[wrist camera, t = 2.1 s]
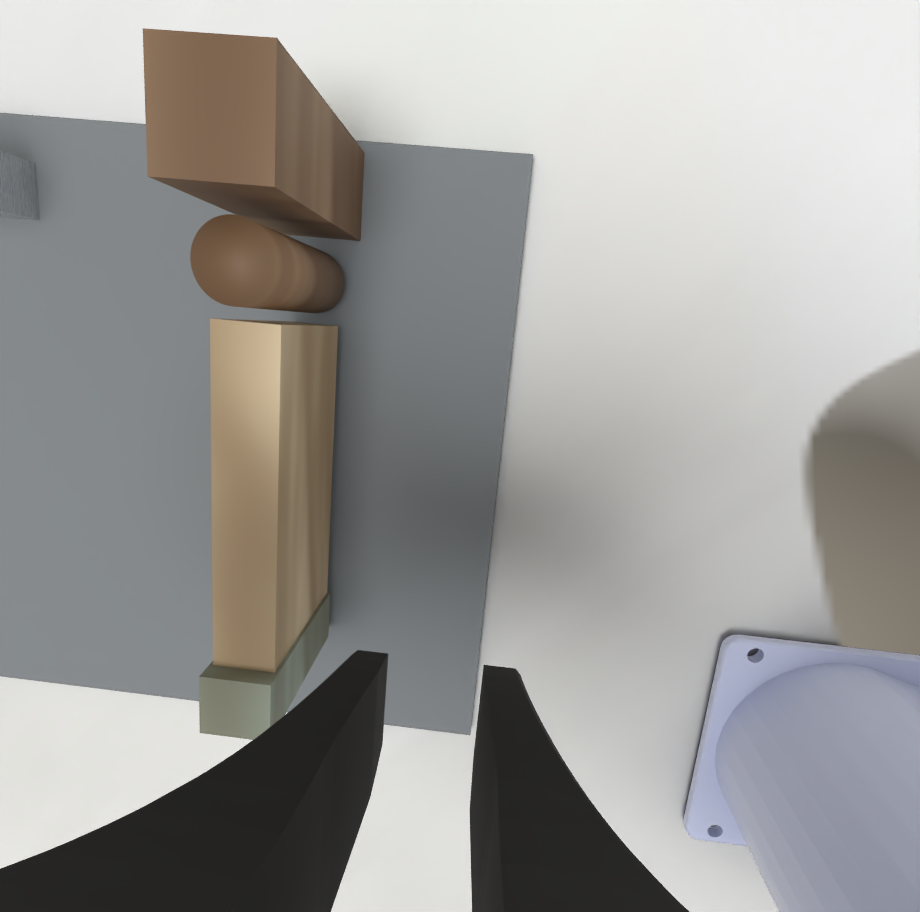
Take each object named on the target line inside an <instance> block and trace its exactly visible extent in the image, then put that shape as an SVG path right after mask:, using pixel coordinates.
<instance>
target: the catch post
mask: <svg viewBox="0 0 920 912" xmlns="http://www.w3.org/2000/svg"><path fill="white" fill-rule="evenodd" d="M0 217H6V218H17V219H29V220H40V212H39V198H38V183H37V169H36V163H33V162H30V161H28V160H25V159H22V158H19V157H16V156H14V155H11V154H8V153H5V152H2V151H0Z"/></svg>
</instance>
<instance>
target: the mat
mask: <svg viewBox="0 0 920 912" xmlns="http://www.w3.org/2000/svg"><path fill="white" fill-rule="evenodd" d="M356 142H357V143H358V145H359V146H360V147H361V149H362V150H363V151H364V153H365V157H364V178H363V199H362V220H361V240H360V241H353V240H342V239H330V238H318V237H307V236H295V235H287V236H289V237H291V238H293V239H296V240H298V241H300V242H303V243H305V244H307V245H309V246H312V247H314V248H316V249H318V250H321V251H323V252H325V253H327V254H329V255H330V256H331V257H333V258H334V259H335V260H336V262H337V263H338V264H339V266H340V268H341V270H342V273H343V277H344V289H343V293H342V296H341V298H340V300H339V301H338V303H337V304H336V305H335V306H334V307H333V308H331V309H330V310H328V311H326V312H322V313H304V312H292V311H280V310H268V309H256V308H244V307H232V306H227V305H224V304H221V303H219V302H217V301H215V300H213V299H212V298H210V297H209V296H208V295H207V294H206V293H205V292H204V291H203V290H202V289H201V287H200V286H199V284H198V283H197V281H196V279H195V277H194V275H193V271H192V268H191V261H190V252H191V246H192V242H193V239H194V237H195V235H196V233H197V232H198V230H199V229H200V228H201V227H202V226H203V225H204V224H205V223H206V222H207V221H209V220H210V219H212V218H214V217H217V216H220V215H226V214H233V213H231V212H229V211H226V210H224V209H222V208H219V207H217V206H215V205H212V204H210V203H208V202H205V201H203V200H201V199H199V198H196V197H194V196H192V195H189V194H187V193H185V192H182V191H180V190H178V189H175V188H173V187H171V186H169V185H166V184H164V183H162V182H159V181H157V180H155V179H152V178H150V177H148V176H147V144H146V124H136V123H123V122H111V121H98V120H85V119H72V118H59V117H46V116H33V115H21V114H8V113H0V151H2V152H5V153H8V154H11V155H14V156H16V157H19V158H22V159H25V160H28V161H30V162H33V163H36V169H37V183H38V198H39V212H40V220H29V219H17V218H6V217H0V676H3V677H11V678H19V679H27V680H35V681H43V682H51V683H59V684H67V685H75V686H83V687H91V688H99V689H107V690H115V691H122V692H130V693H138V694H146V695H154V696H162V697H170V698H178V699H186V700H194V701H199V676H200V675H201V674H202V673H203V671H204V670H205V669H206V668H207V667H208V666H209V665H210V663H211V662H212V661H213V607H212V491H211V375H210V318H213V319H241V320H268V321H289V322H300V323H311V324H321V325H332V326H338V340H337V365H336V389H335V414H334V438H333V463H332V488H331V512H330V537H329V561H328V586H327V592H328V593H330V610H329V634H328V638H327V640H326V642H325V643H324V645H323V647H322V649H321V651H320V652H319V654H318V656H317V658H316V660H315V661H314V663H313V665H312V667H311V669H310V670H309V672H308V674H307V676H306V678H305V679H304V681H303V683H302V685H301V687H300V688H299V690H298V692H297V694H296V696H295V697H294V699H293V701H292V703H291V705H290V706H289V708H288V710H287V712H289V711H291V710H292V709H293V708H294V707H295V706H296V705H298V704H299V703H300V702H301V701H302V700H303V699H304V698H306V697H307V696H308V695H309V694H310V693H311V692H312V691H314V690H315V689H316V688H317V687H318V686H319V685H320V684H321V683H322V682H323V681H324V680H326V679H327V678H328V677H329V676H330V675H331V674H332V673H333V672H334V671H335V670H336V669H337V668H338V667H339V666H340V665H341V664H342V663H343V662H344V661H345V660H346V659H348V658H349V657H350V656H351V655H352V654H353V653H354V652H356V651H357V650H363V651H371V652H380V653H388V668H387V683H386V697H385V712H384V724H385V725H393V726H401V727H409V728H417V729H425V730H433V731H441V732H449V733H457V734H465V735H470V732H471V723H472V714H473V705H474V695H475V686H476V677H477V668H478V659H479V649H480V640H481V631H482V622H483V613H484V603H485V594H486V585H487V576H488V567H489V557H490V548H491V539H492V530H493V521H494V511H495V502H496V493H497V484H498V475H499V465H500V456H501V447H502V438H503V429H504V419H505V410H506V401H507V392H508V383H509V373H510V364H511V355H512V346H513V337H514V327H515V318H516V309H517V300H518V291H519V281H520V272H521V263H522V254H523V245H524V235H525V226H526V217H527V208H528V199H529V189H530V180H531V171H532V162H533V154H522V153H509V152H496V151H483V150H470V149H457V148H444V147H432V146H419V145H406V144H393V143H380V142H367V141H356ZM234 215H235V214H234Z"/></svg>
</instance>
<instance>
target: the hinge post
mask: <svg viewBox="0 0 920 912" xmlns="http://www.w3.org/2000/svg"><path fill="white" fill-rule="evenodd" d="M143 47H144V79H145V112H146V144H147V176H148V177H150V178H152V179H155V180H157V181H159V182H162V183H164V184H166V185H169V186H171V187H173V188H175V189H178V190H180V191H182V192H185V193H187V194H189V195H192V196H194V197H196V198H199V199H201V200H203V201H205V202H208V203H210V204H212V205H215V206H217V207H219V208H222V209H224V210H226V211H229V212H231V213H233V214H235V215H240V216H243V217H246V218H248V219H250V220H252V221H255V222H257V223H259V224H262V225H264V226H266V227H268V228H271V229H273V230H275V231H277V232H280V233H282V234H284V235H295V236H307V237H318V238H330V239H342V240H353V241H360V240H361V220H362V199H363V178H364V157H365V153H364V151H363V150H362V149H361V147H360V146H359V145H358V143H357V142H356V141H355V139H354V138H353V137H352V136H351V134H350V133H349V132H348V130H347V129H346V128H345V126H344V125H343V124H342V122H341V121H340V120H339V119H338V117H337V116H336V115H335V113H334V112H333V111H332V109H331V108H330V107H329V105H328V104H327V103H326V102H325V100H324V99H323V98H322V96H321V95H320V94H319V92H318V91H317V90H316V88H315V87H314V86H313V85H312V83H311V82H310V81H309V79H308V78H307V77H306V75H305V74H304V73H303V71H302V70H301V69H300V68H299V66H298V65H297V64H296V62H295V61H294V60H293V58H292V57H291V56H290V54H289V53H288V52H287V51H286V49H285V48H284V47H283V45H282V44H281V43H280V41H279V40H278V39H277V38H271V37H256V36H242V35H228V34H213V33H199V32H185V31H171V30H156V29H143Z"/></svg>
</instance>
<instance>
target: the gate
mask: <svg viewBox="0 0 920 912" xmlns="http://www.w3.org/2000/svg"><path fill="white" fill-rule="evenodd" d="M190 261H191V268H192V271H193V275H194V277H195V279H196V281H197V283H198V284H199V286H200V287H201V289H202V290H203V291H204V292H205V293H206V294H207V295H208V296H209V297H210V298H212V299H213V300H215V301H217V302H219V303H221V304H224V305H227V306H232V307H244V308H256V309H268V310H280V311H292V312H304V313H322V312H326V311H328V310H330V309H331V308H333V307H334V306H335V305H336V304H337V303H338V301H339V300H340V298H341V296H342V293H343V289H344V277H343V273H342V270H341V268H340V266H339V264H338V263H337V262H336V260H335V259H334V258H333V257H331V256H330V255H329V254H327V253H325V252H323V251H321V250H318V249H316V248H314V247H312V246H309V245H307V244H305V243H303V242H300V241H298V240H296V239H293V238H291V237H289V236H287V235H284V234H282V233H280V232H277V231H275V230H273V229H271V228H268V227H266V226H264V225H262V224H259V223H257V222H255V221H252V220H250V219H248V218H246V217H243V216H240V215H234V214H226V215H220V216H217V217H214V218H212V219H210V220H209V221H207V222H206V223H205V224H204V225H203V226H202V227H201V228H200V229H199V230H198V232H197V233H196V235H195V237H194V239H193V242H192V246H191V252H190ZM337 340H338V326H332V325H321V324H311V323H300V322H289V321H268V320H241V319H213V318H210V375H211V491H212V607H213V661H212V662H211V663H210V665H209V666H208V667H207V668H206V669H205V670H204V671H203V673H202V674H201V675H200V676H199V708H200V733H205V734H213V735H221V736H229V737H236V738H244V739H252V740H254V739H255V738H257V737H258V736H259V735H260V734H262V733H263V732H264V731H265V730H267V729H268V728H269V727H271V726H272V725H273V724H274V723H276V722H277V721H278V720H280V719H281V718H282V717H283V716H284V715H285V714H286V712H287V710H288V708H289V706H290V705H291V703H292V701H293V699H294V697H295V696H296V694H297V692H298V690H299V688H300V687H301V685H302V683H303V681H304V679H305V678H306V676H307V674H308V672H309V670H310V669H311V667H312V665H313V663H314V661H315V660H316V658H317V656H318V654H319V652H320V651H321V649H322V647H323V645H324V643H325V642H326V640H327V638H328V634H329V610H330V593H328V592H327V586H328V561H329V537H330V512H331V488H332V463H333V438H334V414H335V389H336V365H337Z"/></svg>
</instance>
